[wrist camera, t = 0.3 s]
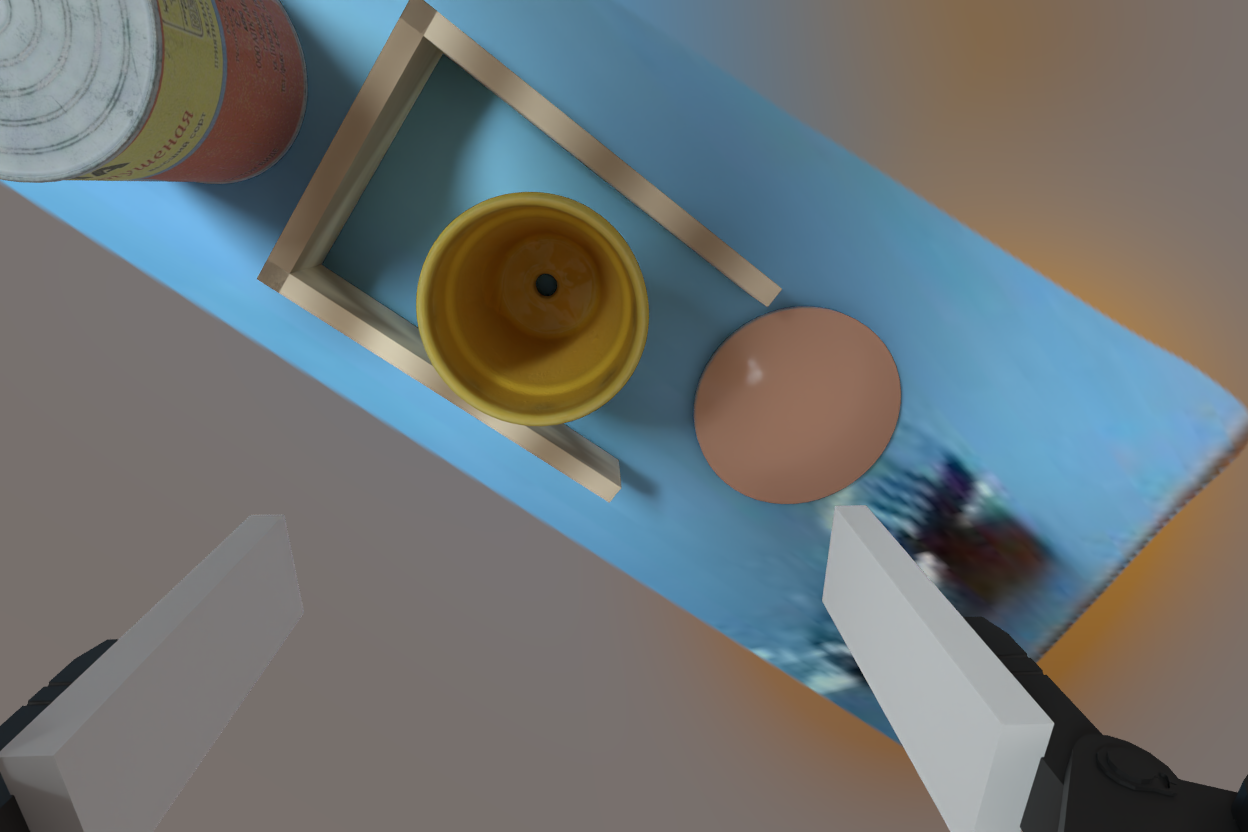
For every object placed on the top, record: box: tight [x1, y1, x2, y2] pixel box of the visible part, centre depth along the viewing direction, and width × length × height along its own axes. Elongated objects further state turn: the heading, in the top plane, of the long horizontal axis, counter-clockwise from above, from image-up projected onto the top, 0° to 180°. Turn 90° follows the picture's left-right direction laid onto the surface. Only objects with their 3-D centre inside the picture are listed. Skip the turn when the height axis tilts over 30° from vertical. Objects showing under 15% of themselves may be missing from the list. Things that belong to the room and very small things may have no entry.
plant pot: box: [416, 192, 649, 426], centre depth 32 cm, size 10×10×10 cm
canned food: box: [0, 0, 308, 184], centre depth 26 cm, size 11×11×12 cm
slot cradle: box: [257, 0, 782, 503], centre depth 34 cm, size 22×16×4 cm
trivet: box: [693, 306, 901, 504], centre depth 39 cm, size 13×13×1 cm
